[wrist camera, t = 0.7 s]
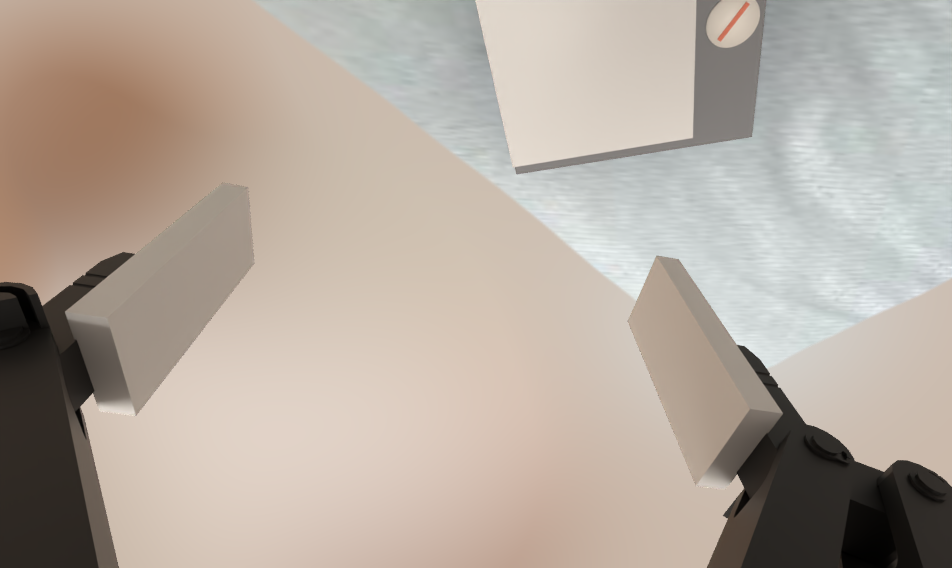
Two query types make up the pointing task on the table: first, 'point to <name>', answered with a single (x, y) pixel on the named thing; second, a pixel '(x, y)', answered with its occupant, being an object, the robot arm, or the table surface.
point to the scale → (620, 75)
